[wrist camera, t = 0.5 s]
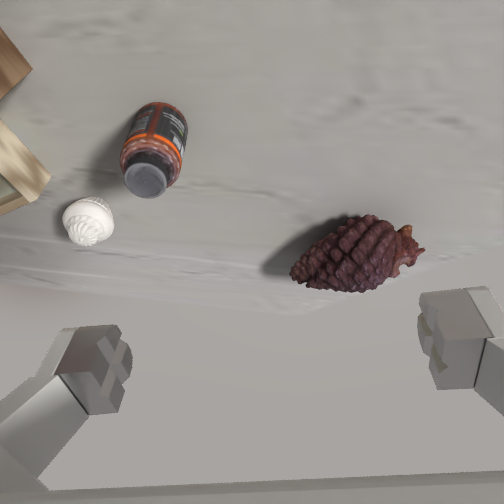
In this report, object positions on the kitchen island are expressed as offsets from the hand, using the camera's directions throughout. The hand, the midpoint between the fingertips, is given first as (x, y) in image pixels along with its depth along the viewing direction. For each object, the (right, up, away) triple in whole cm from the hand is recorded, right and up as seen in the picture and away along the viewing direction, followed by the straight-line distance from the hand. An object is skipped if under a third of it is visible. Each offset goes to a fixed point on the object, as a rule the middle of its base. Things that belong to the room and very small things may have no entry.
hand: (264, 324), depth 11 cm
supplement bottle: (-10, +16, +36) cm, 41 cm away
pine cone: (+13, +5, +47) cm, 49 cm away
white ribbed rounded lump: (-21, +8, +43) cm, 49 cm away
